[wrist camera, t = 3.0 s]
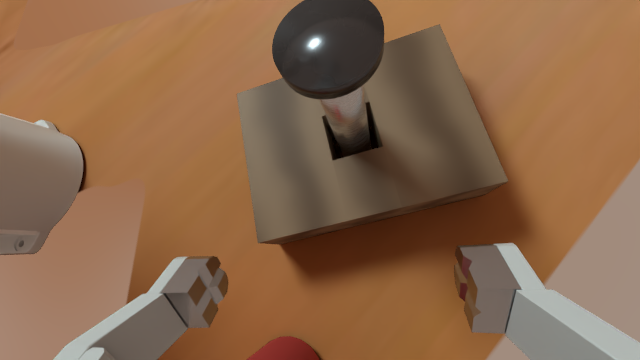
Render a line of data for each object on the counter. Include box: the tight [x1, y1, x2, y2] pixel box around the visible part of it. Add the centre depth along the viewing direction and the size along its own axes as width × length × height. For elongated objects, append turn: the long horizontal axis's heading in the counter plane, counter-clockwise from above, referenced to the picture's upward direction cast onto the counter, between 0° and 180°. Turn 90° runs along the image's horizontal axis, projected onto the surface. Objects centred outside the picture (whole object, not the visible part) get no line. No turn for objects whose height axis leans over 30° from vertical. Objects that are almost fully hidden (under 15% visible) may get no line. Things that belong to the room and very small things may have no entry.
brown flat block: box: [237, 24, 508, 244], centre depth 26 cm, size 20×15×5 cm
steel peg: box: [272, 0, 384, 157], centre depth 21 cm, size 6×6×16 cm
